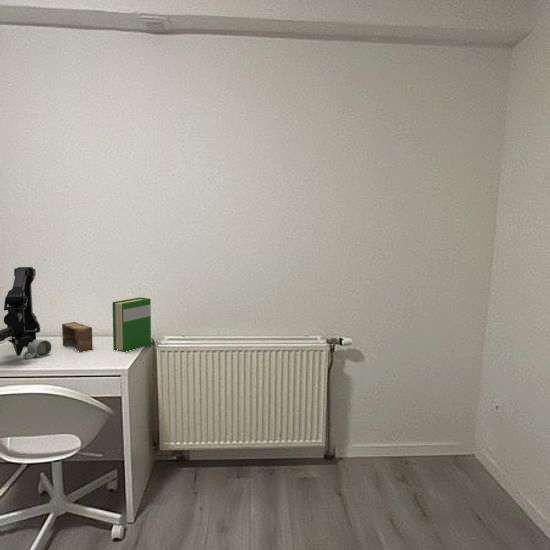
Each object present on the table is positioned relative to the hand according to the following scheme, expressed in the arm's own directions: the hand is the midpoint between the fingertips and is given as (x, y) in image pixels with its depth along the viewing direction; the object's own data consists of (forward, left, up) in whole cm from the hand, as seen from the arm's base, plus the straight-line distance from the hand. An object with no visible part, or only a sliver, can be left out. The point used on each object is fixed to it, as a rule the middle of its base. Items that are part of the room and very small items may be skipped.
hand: (18, 355), depth 190 cm
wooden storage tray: (0, +26, -2) cm, 27 cm away
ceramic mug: (0, +7, -2) cm, 8 cm away
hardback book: (+19, +45, -2) cm, 49 cm away
